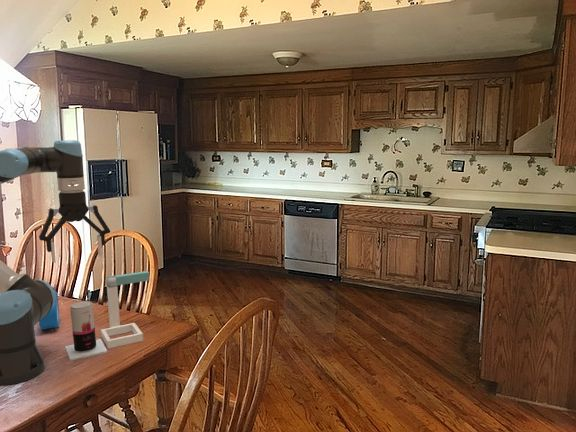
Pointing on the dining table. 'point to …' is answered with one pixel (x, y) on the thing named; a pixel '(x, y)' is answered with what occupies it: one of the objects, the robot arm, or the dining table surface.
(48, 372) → the dining table surface
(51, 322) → the alarm clock
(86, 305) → the beverage can
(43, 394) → the dining table surface
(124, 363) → the dining table surface
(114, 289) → the grey frame with post
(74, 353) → the mat
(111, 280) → the bar
